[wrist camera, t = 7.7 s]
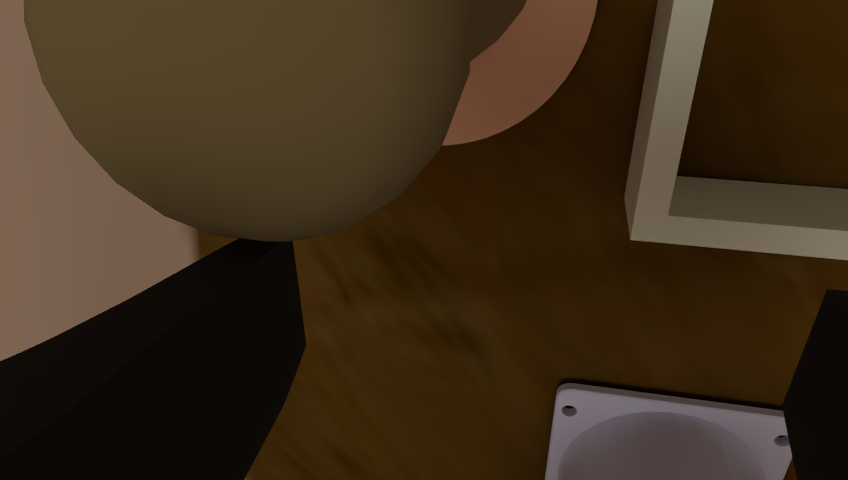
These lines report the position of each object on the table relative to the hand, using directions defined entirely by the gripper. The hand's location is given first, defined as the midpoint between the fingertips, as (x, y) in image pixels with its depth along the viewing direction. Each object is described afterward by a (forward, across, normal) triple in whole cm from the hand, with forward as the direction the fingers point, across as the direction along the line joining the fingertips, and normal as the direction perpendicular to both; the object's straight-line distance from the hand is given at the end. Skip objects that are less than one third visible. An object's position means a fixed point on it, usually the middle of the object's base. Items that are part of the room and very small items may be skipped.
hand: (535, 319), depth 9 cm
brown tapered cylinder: (+10, +4, -4) cm, 11 cm away
